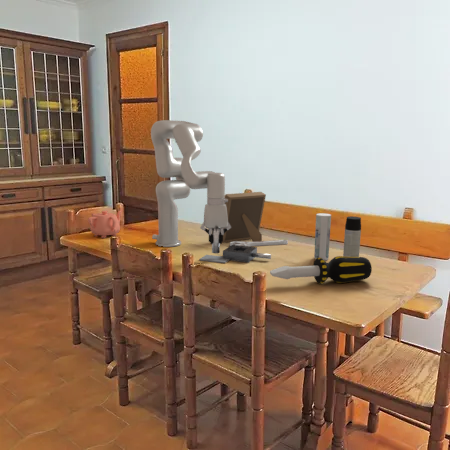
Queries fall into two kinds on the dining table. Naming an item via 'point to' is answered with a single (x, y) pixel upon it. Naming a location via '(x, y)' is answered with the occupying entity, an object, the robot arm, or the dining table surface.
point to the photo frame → (244, 216)
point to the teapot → (105, 223)
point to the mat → (214, 259)
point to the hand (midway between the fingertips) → (215, 243)
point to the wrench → (259, 243)
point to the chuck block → (243, 253)
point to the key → (216, 240)
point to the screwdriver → (329, 270)
